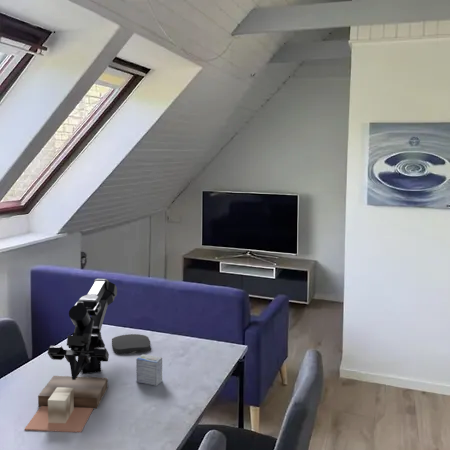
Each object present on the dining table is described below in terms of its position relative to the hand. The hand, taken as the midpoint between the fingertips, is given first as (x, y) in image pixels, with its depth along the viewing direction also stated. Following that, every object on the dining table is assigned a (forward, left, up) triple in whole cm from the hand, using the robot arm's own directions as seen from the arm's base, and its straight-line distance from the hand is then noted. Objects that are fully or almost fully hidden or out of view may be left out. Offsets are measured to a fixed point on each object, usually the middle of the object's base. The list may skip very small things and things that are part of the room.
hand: (73, 379), depth 166 cm
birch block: (+3, +8, -2) cm, 8 cm away
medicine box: (-25, -5, -6) cm, 26 cm away
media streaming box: (-24, -38, -7) cm, 45 cm away
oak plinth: (0, -1, -6) cm, 6 cm away
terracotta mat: (+5, +13, -6) cm, 15 cm away
